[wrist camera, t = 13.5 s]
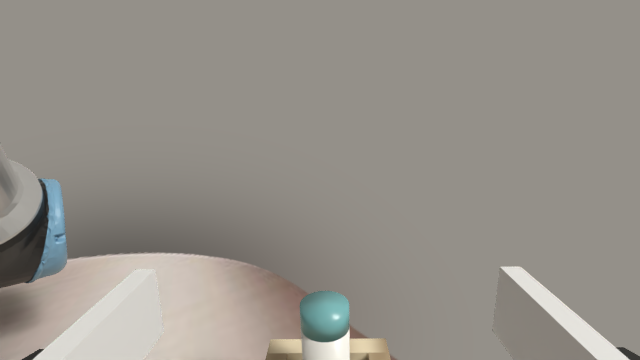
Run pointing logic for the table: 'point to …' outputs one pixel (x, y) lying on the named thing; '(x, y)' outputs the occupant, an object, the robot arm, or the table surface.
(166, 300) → the table surface
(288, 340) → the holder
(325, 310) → the marker
